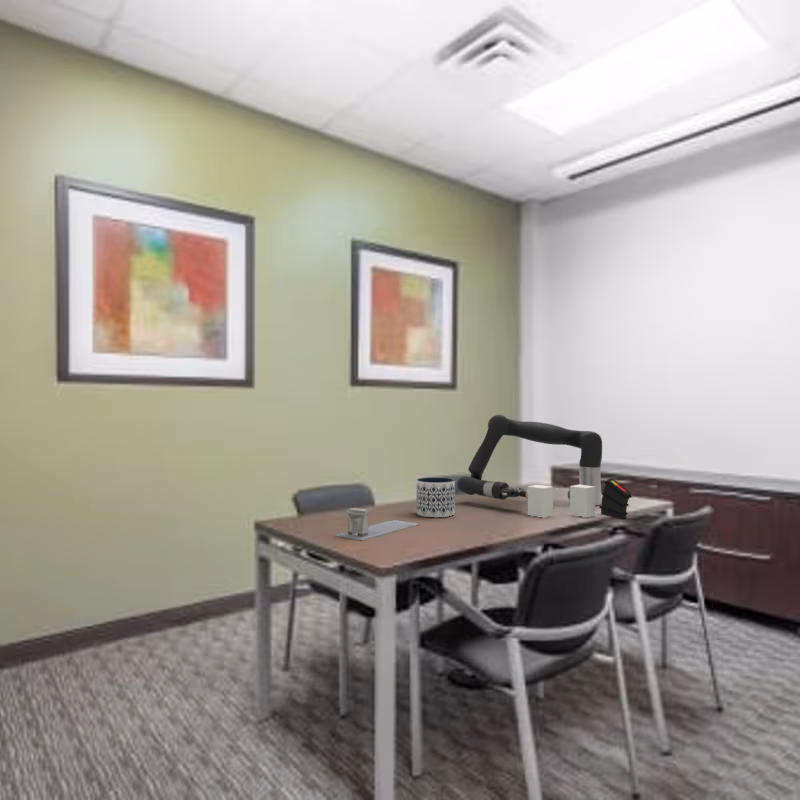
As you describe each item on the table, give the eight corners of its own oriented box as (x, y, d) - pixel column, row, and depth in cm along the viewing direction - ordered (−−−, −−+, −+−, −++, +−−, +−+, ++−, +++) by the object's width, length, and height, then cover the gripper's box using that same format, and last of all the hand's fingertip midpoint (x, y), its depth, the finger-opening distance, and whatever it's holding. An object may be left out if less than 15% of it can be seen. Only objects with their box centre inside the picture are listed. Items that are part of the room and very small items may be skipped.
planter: (412, 511, 253) (413, 477, 253) (449, 510, 256) (449, 476, 256) (420, 518, 238) (421, 482, 238) (459, 517, 241) (459, 482, 241)
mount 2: (579, 512, 251) (579, 484, 251) (595, 515, 245) (595, 486, 245) (569, 515, 246) (570, 486, 246) (586, 517, 241) (586, 488, 241)
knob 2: (573, 498, 251) (573, 488, 251) (591, 501, 245) (591, 490, 245) (567, 500, 248) (567, 489, 248) (585, 502, 242) (586, 492, 242)
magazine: (600, 508, 253) (612, 478, 247) (622, 526, 242) (636, 496, 237) (594, 509, 251) (606, 478, 245) (616, 527, 241) (629, 496, 235)
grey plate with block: (334, 536, 208) (335, 509, 208) (393, 521, 234) (393, 497, 234) (361, 542, 200) (362, 513, 200) (419, 525, 226) (419, 500, 226)
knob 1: (531, 499, 250) (531, 488, 250) (549, 501, 244) (549, 491, 244) (525, 500, 247) (525, 489, 247) (543, 503, 241) (543, 492, 241)
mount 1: (537, 513, 250) (537, 484, 250) (553, 516, 244) (553, 486, 244) (527, 515, 245) (527, 486, 245) (543, 518, 239) (543, 488, 239)
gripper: (486, 482, 257) (519, 487, 244) (505, 480, 266) (538, 484, 253) (486, 500, 257) (519, 505, 244) (505, 496, 266) (538, 502, 253)
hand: (528, 494), depth 249 cm, fingers closed
